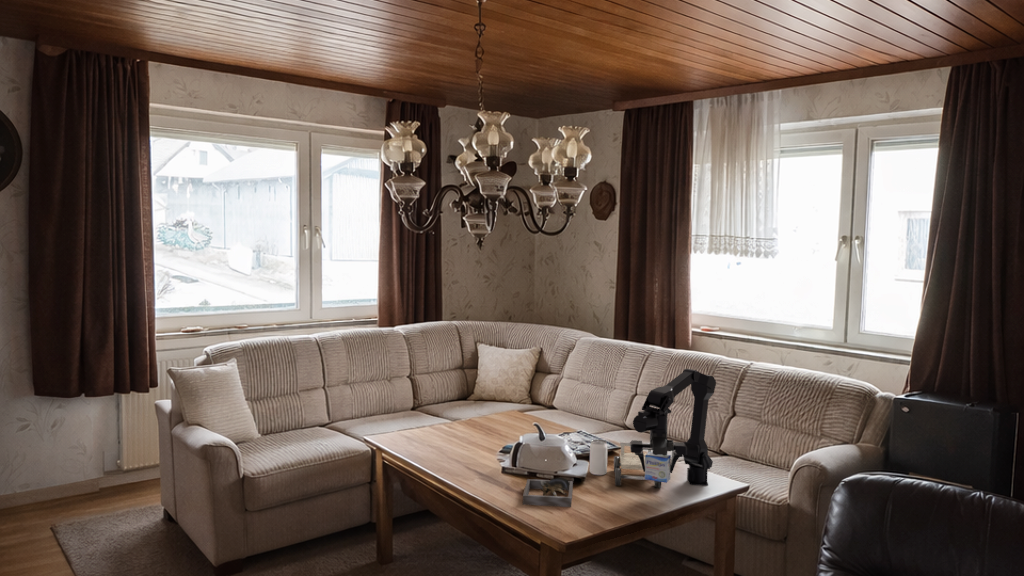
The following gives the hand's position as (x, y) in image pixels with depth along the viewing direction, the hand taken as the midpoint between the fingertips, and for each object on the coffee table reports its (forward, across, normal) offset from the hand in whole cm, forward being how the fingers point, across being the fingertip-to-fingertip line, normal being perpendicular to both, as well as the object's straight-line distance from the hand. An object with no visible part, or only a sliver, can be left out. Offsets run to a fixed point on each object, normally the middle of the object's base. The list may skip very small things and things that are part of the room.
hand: (657, 472), depth 243 cm
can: (+9, -20, +22) cm, 31 cm away
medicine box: (+3, 0, 0) cm, 3 cm away
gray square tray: (+9, -37, -5) cm, 38 cm away
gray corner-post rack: (+9, -6, +17) cm, 20 cm away
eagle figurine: (+9, -35, -3) cm, 36 cm away
